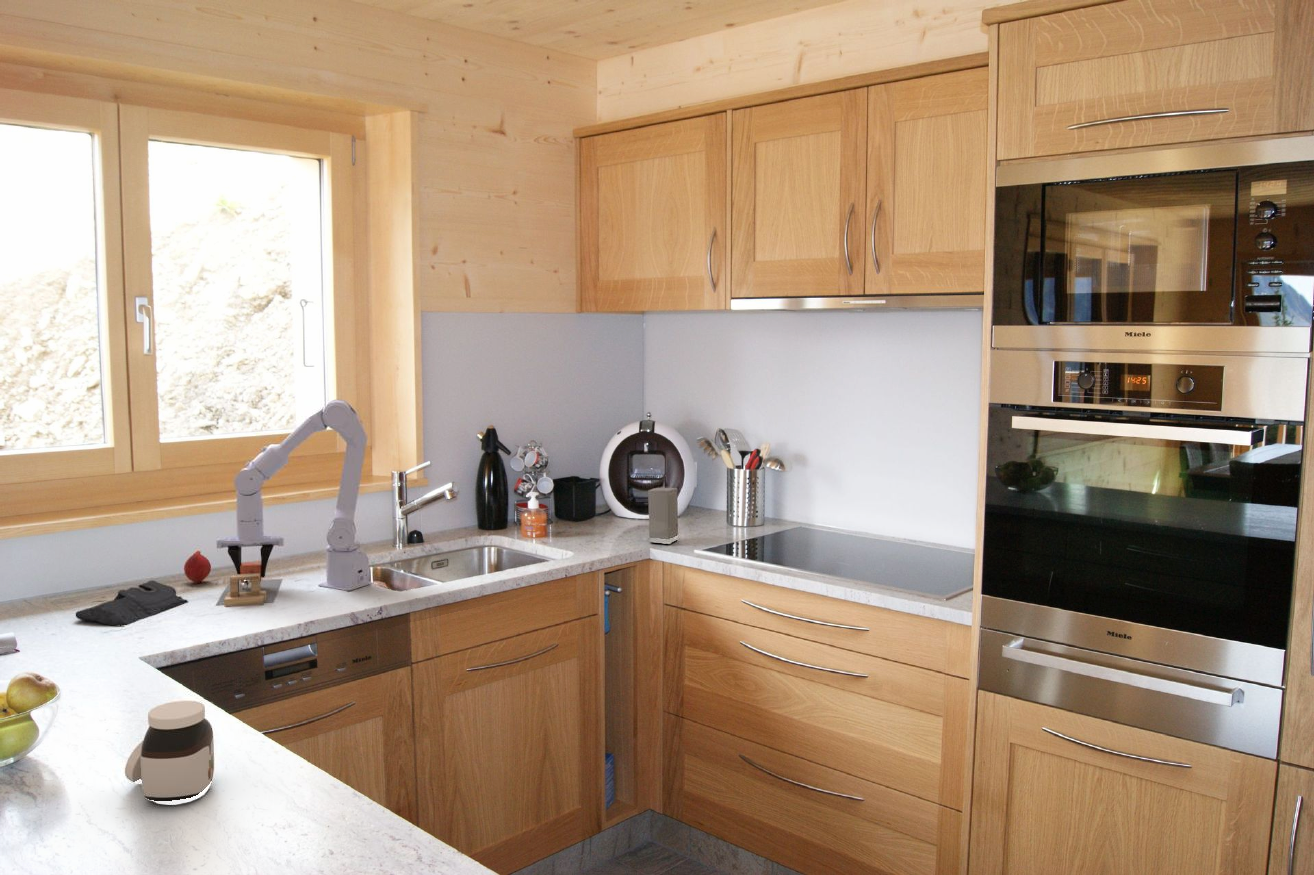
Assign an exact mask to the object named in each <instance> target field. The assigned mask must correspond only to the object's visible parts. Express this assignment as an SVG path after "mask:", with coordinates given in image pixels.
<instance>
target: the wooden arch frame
mask: <svg viewBox="0 0 1314 875" xmlns="http://www.w3.org/2000/svg"><path fill="white" fill-rule="evenodd" d="M241 580H251V592H239V581H241ZM229 582H230V593H228V594H227V596H226V597H225V599H224V605H223V606H224V607H236V606H238V607H239V606H252V605H253V606H257V605H264V604H265V603H264V601H265V599H266V591H260V573H258V574H230V576H229Z"/></svg>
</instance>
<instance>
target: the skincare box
mask: <svg viewBox="0 0 1314 875" xmlns="http://www.w3.org/2000/svg"><path fill="white" fill-rule="evenodd" d="M647 493H648V494H647V496H648V498H647V499H648V500H647V501H648V536H649V537H648V539H649V538H660V539H670V538H673V537H675V536H677V535H678V536H679V516H678V514H679V510H678V509H679V508H678V488H677V487H655V488H652V489H648V491H647Z"/></svg>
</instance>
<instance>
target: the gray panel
mask: <svg viewBox="0 0 1314 875" xmlns="http://www.w3.org/2000/svg"><path fill="white" fill-rule="evenodd" d="M282 581H283V578H277V579H276V578H274V579H272V578H271V579H262V581H261V582H260V591H266V599H265V601H264V604H273V603H274V602H275V599H276V597H277V594H278V592H279V589H280V586H281V585H282ZM241 584H242V583H241V580H239V592H251V582H249V584H248V588H247V589H246V590H242V589H241V588H240V585H241ZM228 593H230V581H229V582H228V583H227V585H226V587H225V588H224V591H223V592H222V594H221V595H220V597H219V598H218V600H217V602H216V604H215V606H224V599H225V597H226V596H227V594H228Z"/></svg>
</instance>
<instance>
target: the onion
mask: <svg viewBox="0 0 1314 875" xmlns="http://www.w3.org/2000/svg"><path fill="white" fill-rule="evenodd" d="M183 570H184V575H185V576H186V578H187V579H188V580H190V581H191V582H193V583H195V584H201V583H202V582H203V581H204V580H205V579H206V578H207V577H208V576H209V575H210V573H211V570H212V564H211V562H210V560H209V559H208V558H207V557H206V556H204V555H203V554H201V550H199V549H198V550H195V551H194V553H193V554H192V555H191V556H190V557H188V559H187V560H186V561H185V563H184V567H183ZM200 582H201V583H200Z"/></svg>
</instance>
